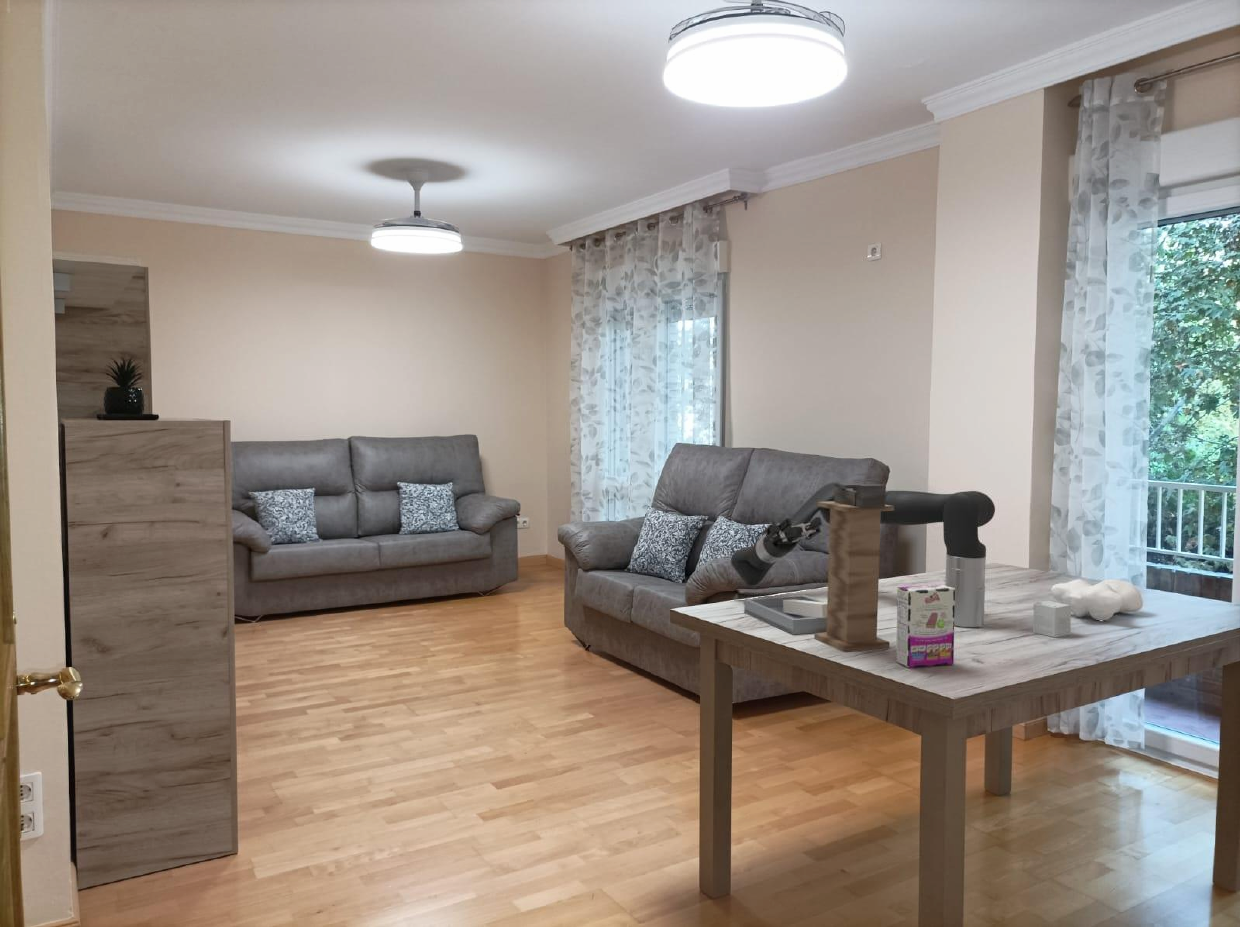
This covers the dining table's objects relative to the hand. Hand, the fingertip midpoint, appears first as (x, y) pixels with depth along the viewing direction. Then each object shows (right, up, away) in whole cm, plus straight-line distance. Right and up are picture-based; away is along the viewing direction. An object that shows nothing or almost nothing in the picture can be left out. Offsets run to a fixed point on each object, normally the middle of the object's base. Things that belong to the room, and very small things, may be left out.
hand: (804, 521), depth 228 cm
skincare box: (+58, -27, -7) cm, 64 cm away
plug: (+1, -23, -1) cm, 23 cm away
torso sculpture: (+79, -26, +11) cm, 83 cm away
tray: (-1, -25, +3) cm, 26 cm away
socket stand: (+7, -27, -18) cm, 33 cm away
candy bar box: (+18, -28, -34) cm, 48 cm away
